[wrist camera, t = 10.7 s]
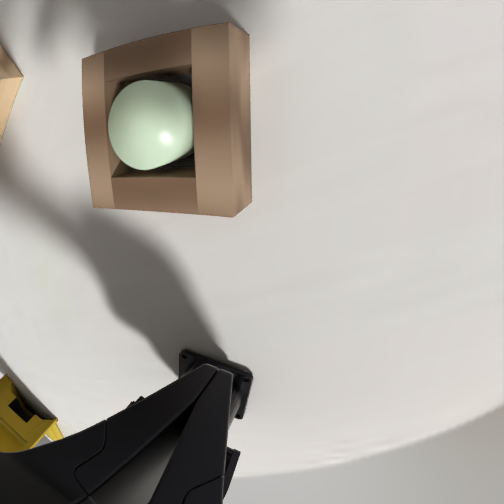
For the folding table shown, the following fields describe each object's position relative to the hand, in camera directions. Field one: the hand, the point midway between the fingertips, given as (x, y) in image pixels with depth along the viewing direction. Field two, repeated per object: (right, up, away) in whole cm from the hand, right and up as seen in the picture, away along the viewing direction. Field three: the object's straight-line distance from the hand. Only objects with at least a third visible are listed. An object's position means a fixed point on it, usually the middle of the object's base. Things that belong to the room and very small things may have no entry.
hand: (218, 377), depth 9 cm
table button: (-4, +11, +10) cm, 16 cm away
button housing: (-4, +12, +10) cm, 16 cm away
